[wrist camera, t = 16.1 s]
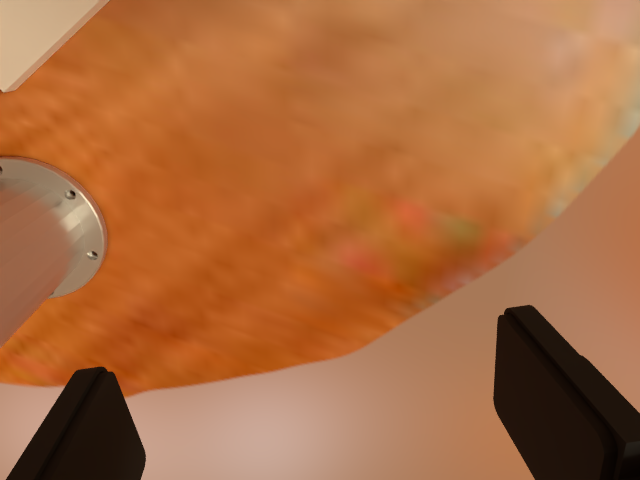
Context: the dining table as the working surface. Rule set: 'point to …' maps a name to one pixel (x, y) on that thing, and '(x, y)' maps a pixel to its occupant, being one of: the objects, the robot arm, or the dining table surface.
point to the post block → (37, 33)
